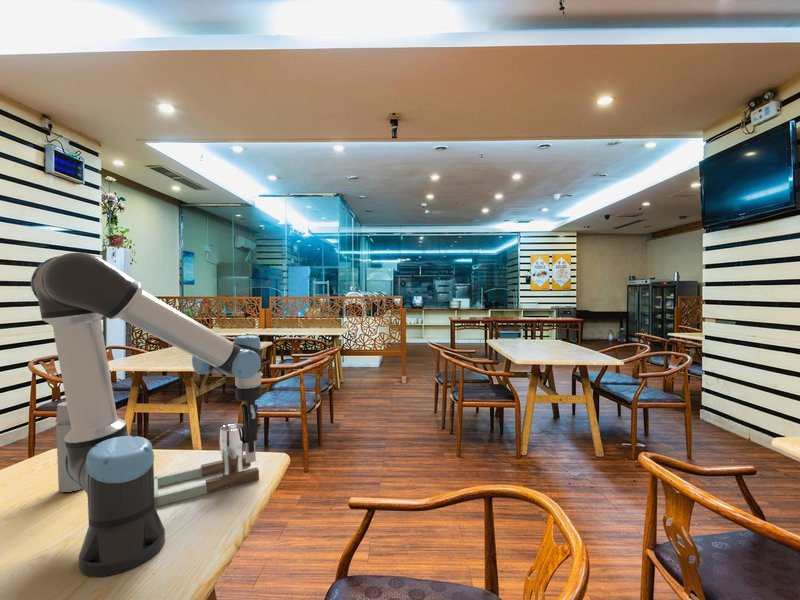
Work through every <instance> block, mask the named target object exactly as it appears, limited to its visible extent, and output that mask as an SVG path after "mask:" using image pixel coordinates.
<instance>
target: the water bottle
mask: <svg viewBox="0 0 800 600" xmlns="http://www.w3.org/2000/svg"><path fill="white" fill-rule="evenodd" d="M55 417H56V419H55V420H54V421H55V427H56V452H57V454H56V455H57V457H56V458H57V478H58V479H57V482H58V484H57V485H58V491H59V492H60V491H61V492H60V493H62V492H72V491H76V492H78V491H77V490H79V491H81V490H83V489H82V488H81V487H80V486H79V485H78V484H77V483H76V482H75V481H73V480H72V479H71V478H70V477H69V475H68V474H67V472H66V469H65V455H66V452H67V451H66V446H65V440H64V438H65V436H66V435H67V434H68V433H69V432H70V430H71V424H70V418H69V413H68V407H67V402H66V401H63V402H60V403H57V407H56V416H55ZM80 489H81V490H80ZM72 493H73V492H72Z"/></svg>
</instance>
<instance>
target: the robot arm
mask: <svg viewBox="0 0 800 600" xmlns="http://www.w3.org/2000/svg"><path fill="white" fill-rule="evenodd" d="M30 288H31V291H32V292H33V295H34V297H35V298H36V299H37V300H38V306H39V311H40V316H41V320H42V321H43V322H45V323H47V324H49V325H50V326H51V327H52V331H53V336H54V342H55V345H56V346H55V347H56V352H57V359H58V365H59V369H60V373H61V375H60V376H61V380H62V385H63V391H64V397H65V402H67V407H68V413H69V418H70V424H71V430H70V432H69V433H68V434H67V435H66V436H65V438H64V440H65V446H66V451H67V452H66V455H65V469H66V472H67V474H68V475H69V477H70V478H71V479H72V480H73V481H75V482H76V483H77V484H78V485H79V486H80V487H81V488H82V489H81V490H83V491H84V492H85V493H86V495H87V512H88V513H87V514H88V515H87V517H88V528H87V529H86V534H85V536H84V540H83V543H82V544H81V545H82V546H81V549H80V552H79V556H78V568H79V569H80V570H79V571H81V572H82V573H81V572H80V573H81V574H83V575H84V574H85V575H84V576H87V575H88V577H93V576H100V577H107V576H108V577H109V576H113V575H117V574H119V573H123V572H124V573H125V572H127V571H128V570H132V569H135V568H136V567H139V566H140V565H142V564H143V563H145V562H147V561H149V560H150V559H151V558H153V557H154V556H156V555H157V554H158V553H159V552H160V550H162V548H163V547H164V545H165V543H166V530H165V527H164V525H163V523H162V521H161V518H160V516H159V514H158V512H157V509H156V507H155V501H154V477H155V471H154V468H155V467H154V463H155V462H154V461H155V453H154V451H153V449H154V448H153V445H152V442H151V441H150V440H149V439H148V438H145V437H143V436H138V435H135V436H133V435H129V431H128V426H127V421H126V420H125V419H122V418H120V417H118V414H117V409H116V402H115V397H114V395H115V394H114V392H113V391H114V390H113V384H112V377H111V373H110V366H109V361H108V356H107V349H106V343H105V338H104V333H103V325H102V318H103V317H105V318H107V319H109V320H114V319H115V320H116V319H120V320H122V321H124V322H126V323H128V324H129V325H132V326H134V327H135V328H137V329H140V330H142V331H144V332H145V333H148V334H149V335H151V336H153V337H155V338H157V339H159V340H161V341H163V342H166V343H167V344H169V345H171V346H173V347H175V348H177V349H179V350H181V351H183V352H185V353H187V354H189V355H190V356H191V363H192V364H191V365H192V368H193V371H194V372H195V373H196V374H197V375H209V374H221V375H224V376H229V377H234V383H235V384H234V385H235V387H236V388H235V399H236V400H237V401H240V402H242V404H241V405H240V408H241V409H240V410H241V417H242V418H241V419H242V425H243V427H244V437H245V441H244V443H245V444H244V451H245V453H244V455H245V458H246V463H250V464H251V463H254V462H257V461H256V460H257V459H256V457H257V456H256V441H258V417H259V412H258V411H257V410H258V404H256V400H259V399H261V398H262V396H263V394H262V390H263V389H262V388H263V387H262V385H261V383H262V377H264V376H263V375H264V373H262V353H261V352H262V348H261V347H262V346H261V339H260V337H259V336H258V335H252V334H251V335H239V336H235V337H234V339H233V342H232V341H231V340H229V339H227V338H226V337H224V336H222V335H220V334H219V333H217V332H216V331H214V330H212V329H210V328H208V327H207V326H205V325H203V324H202V323H200V322H198V321H197V320H196V319H193V318H192V317H190V316H188V315H186V314H184V313H183V312H181V311H179V310H178V309H176V308H175V307H173V306H171V305H170V304H167V303H166V302H164V301H163V300H161V299H159V298H157V297H155V295H153V294H151V293H149V292H147V291H145V290H144V289H142V288H143V287H142V284H141V282H140V281H138V280H137V279H134V278H133V277H131V276H130V275H129V274H127V273H125V272H124V271H122V270H120V269H119V268H117V267H115V266H114V265H112V264H111V263H109V262H108V261H106V260H104V259H103V258H100V257H99V256H96V255H93V254H91V253H90V254H89V253H87V252H70V253H68V252H67V253H65V254H62V255H58V256H53V257H51V258H47V259H46V260H45V261H43V262H41V263H40V264H39V265H38V266H37V267H36V269H35V270H34V271H33V273H32V275H31V279H30Z"/></svg>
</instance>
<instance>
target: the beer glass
mask: <svg viewBox="0 0 800 600" xmlns="http://www.w3.org/2000/svg"><path fill="white" fill-rule="evenodd" d="M244 441H245V436H244V427H243V423H230V424H226V425H222V426H221V427H220V428H219V449H220V454H221V455H220V456H221V460H223V466H224V469H223V472H222V476H224V475H228V474H232V473H236V472H240V471H244V467H243V466H242V459H243V455H244V451H245V443H244Z"/></svg>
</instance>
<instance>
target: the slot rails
mask: <svg viewBox="0 0 800 600" xmlns="http://www.w3.org/2000/svg"><path fill="white" fill-rule="evenodd" d="M242 466H243V468H245V467H249V466H251V462H250V463H246V458H245V454H243V459H242ZM200 467H202V476H201V477H204V478H205V477H208V476H213V475H215V474H216V475H217V474H220V473H223V469H224V466H223V460H222V459H221V460H216V461H213V462H207V463H203V464H201V465H200ZM243 470H244V469H243ZM259 480H260V471H259V468H258V467H253V468H250V469H245V470H244V471H240V472H236V473H232V474H228V475H224V476H223V475H220V476H217V477H211V478H208V479H206V480H205V482H206V484H207V494H210V493H213V492H218V491H222V490H226V489H229V488H232V487H233V488H234V487H237V486H240V485H244V484H248V483H253V482H256V481H259Z"/></svg>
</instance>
